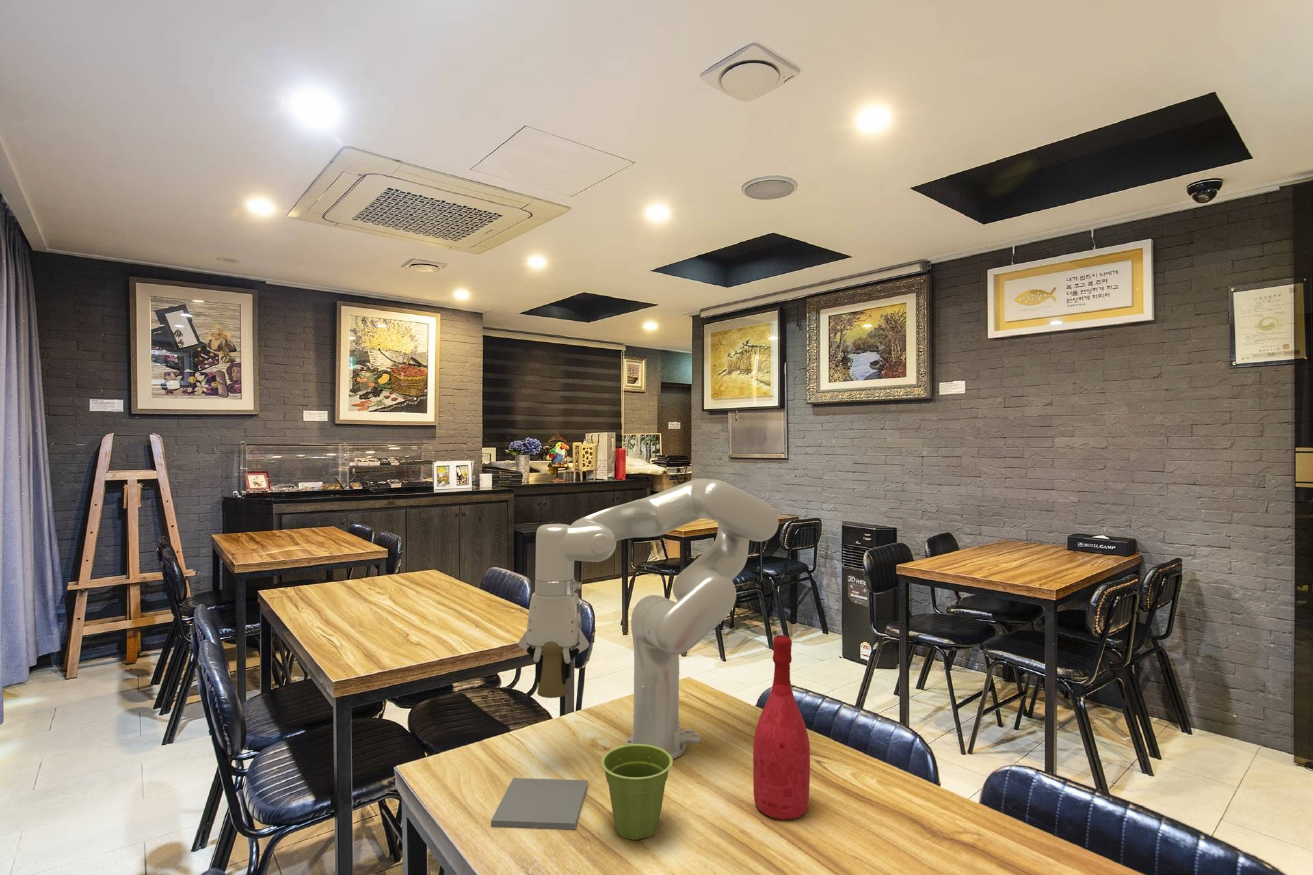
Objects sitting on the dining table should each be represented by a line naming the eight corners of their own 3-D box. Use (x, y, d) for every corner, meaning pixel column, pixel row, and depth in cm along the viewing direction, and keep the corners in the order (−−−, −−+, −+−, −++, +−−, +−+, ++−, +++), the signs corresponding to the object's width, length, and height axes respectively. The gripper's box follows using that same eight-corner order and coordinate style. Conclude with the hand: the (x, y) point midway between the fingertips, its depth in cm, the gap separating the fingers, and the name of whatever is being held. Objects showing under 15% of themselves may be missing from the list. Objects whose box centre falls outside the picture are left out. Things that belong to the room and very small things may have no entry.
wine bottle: (812, 798, 117) (813, 631, 118) (806, 827, 108) (807, 646, 109) (758, 788, 120) (759, 626, 121) (747, 816, 111) (749, 640, 112)
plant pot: (604, 807, 113) (605, 742, 114) (672, 809, 113) (672, 744, 113) (595, 849, 101) (596, 776, 102) (671, 851, 101) (672, 778, 101)
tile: (587, 785, 121) (587, 780, 121) (575, 829, 107) (575, 823, 107) (513, 783, 121) (513, 777, 121) (490, 826, 107) (491, 820, 107)
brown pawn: (561, 699, 124) (562, 641, 124) (532, 696, 125) (533, 638, 125) (572, 688, 129) (573, 632, 130) (544, 685, 131) (545, 630, 131)
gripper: (599, 584, 131) (598, 675, 130) (517, 582, 132) (516, 673, 132) (593, 592, 123) (592, 689, 123) (507, 590, 124) (505, 686, 124)
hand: (553, 680), depth 127 cm, fingers closed on brown pawn, 4 cm apart
